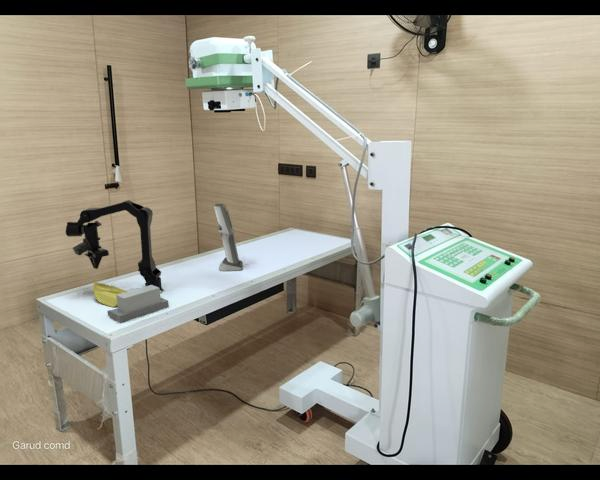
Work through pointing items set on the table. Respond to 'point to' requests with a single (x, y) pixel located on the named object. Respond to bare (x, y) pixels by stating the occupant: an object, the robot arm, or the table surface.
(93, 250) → the robot arm
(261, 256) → the table surface
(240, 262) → the grey tall upright piece
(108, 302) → the yellow long curved piece
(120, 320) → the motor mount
